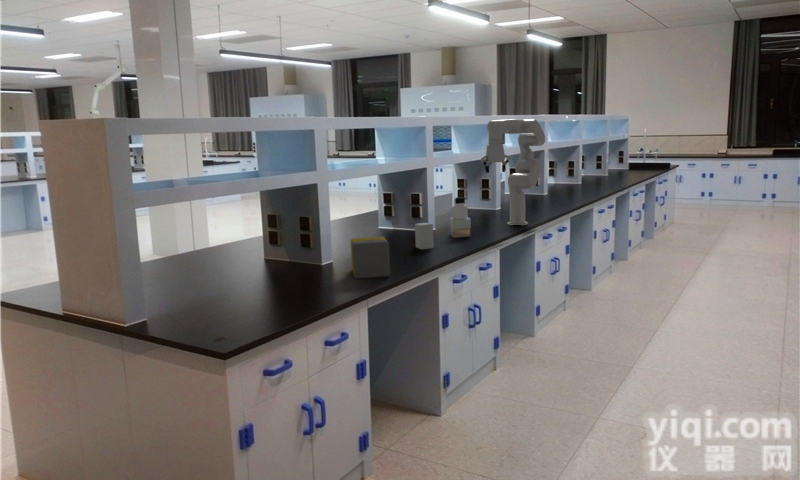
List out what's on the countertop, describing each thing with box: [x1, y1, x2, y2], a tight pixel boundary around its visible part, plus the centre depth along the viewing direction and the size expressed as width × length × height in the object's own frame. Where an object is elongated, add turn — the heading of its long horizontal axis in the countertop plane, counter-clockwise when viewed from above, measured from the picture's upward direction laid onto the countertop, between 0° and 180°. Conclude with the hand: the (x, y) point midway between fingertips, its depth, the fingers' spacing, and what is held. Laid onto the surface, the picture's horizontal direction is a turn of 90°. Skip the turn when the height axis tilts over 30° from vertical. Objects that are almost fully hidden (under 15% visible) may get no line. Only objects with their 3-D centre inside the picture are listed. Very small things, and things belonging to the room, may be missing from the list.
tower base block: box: [450, 226, 471, 238], centre depth 349 cm, size 10×10×5 cm
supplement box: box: [414, 222, 435, 250], centre depth 316 cm, size 7×7×13 cm
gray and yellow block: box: [350, 235, 391, 280], centre depth 268 cm, size 15×24×15 cm, turn 9°
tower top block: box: [449, 217, 472, 229], centre depth 348 cm, size 10×10×5 cm
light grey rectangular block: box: [451, 196, 469, 219], centre depth 347 cm, size 7×7×12 cm
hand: (495, 172), depth 353 cm, fingers open, 9 cm apart
